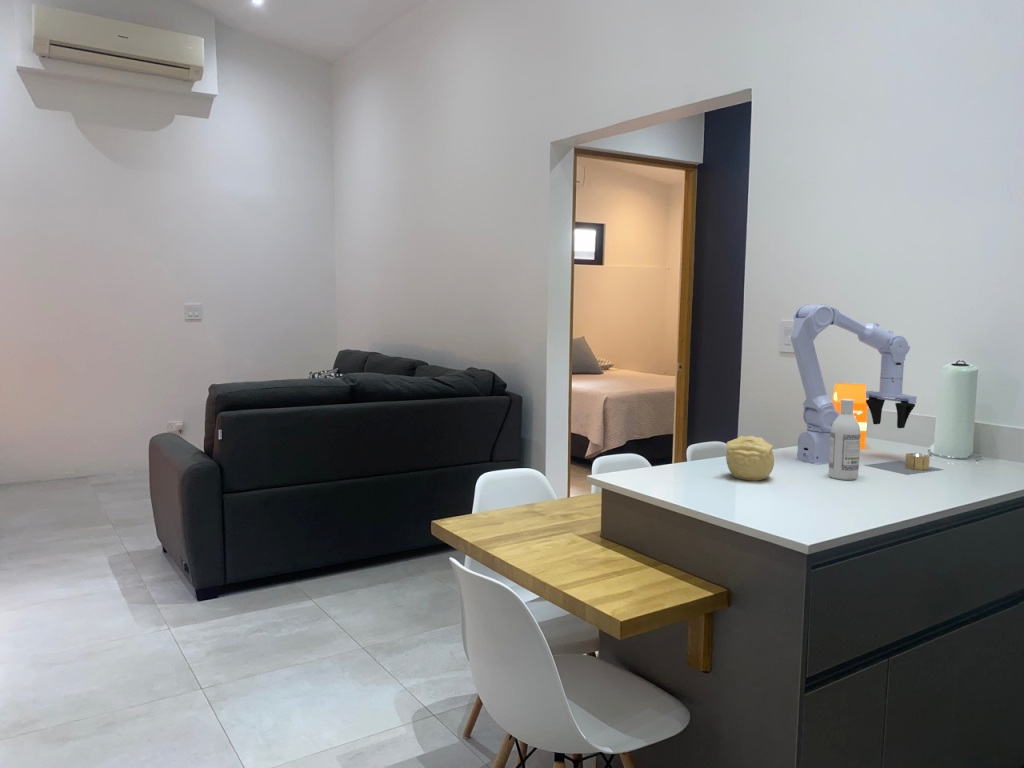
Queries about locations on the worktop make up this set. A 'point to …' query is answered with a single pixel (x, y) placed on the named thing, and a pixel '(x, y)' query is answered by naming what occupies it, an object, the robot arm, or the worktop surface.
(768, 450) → the sculpture
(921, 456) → the piston post
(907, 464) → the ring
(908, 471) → the mat
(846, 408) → the bath foam
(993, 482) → the worktop surface
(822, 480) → the worktop surface
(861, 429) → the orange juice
